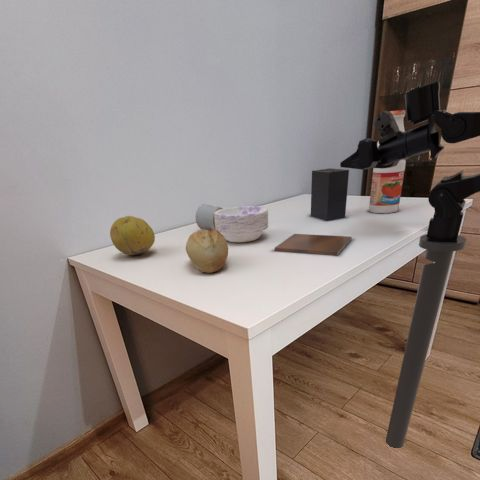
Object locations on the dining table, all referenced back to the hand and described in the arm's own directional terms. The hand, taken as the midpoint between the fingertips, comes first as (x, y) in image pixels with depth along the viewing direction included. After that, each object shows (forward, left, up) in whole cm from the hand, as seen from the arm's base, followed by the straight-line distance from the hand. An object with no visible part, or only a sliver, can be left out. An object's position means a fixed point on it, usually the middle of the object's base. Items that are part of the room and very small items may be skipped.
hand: (348, 164), depth 92 cm
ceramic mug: (+40, +8, -17) cm, 44 cm away
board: (+3, +19, -16) cm, 25 cm away
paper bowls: (+25, +17, -17) cm, 34 cm away
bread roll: (+22, +40, -17) cm, 49 cm away
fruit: (+47, +38, -17) cm, 63 cm away
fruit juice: (-7, -25, -17) cm, 31 cm away
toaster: (+9, -14, -16) cm, 23 cm away
